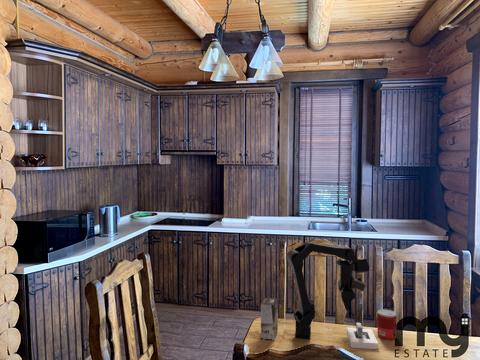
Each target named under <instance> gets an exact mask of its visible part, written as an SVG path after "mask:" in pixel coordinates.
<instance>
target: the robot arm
mask: <svg viewBox="0 0 480 360" xmlns="http://www.w3.org/2000/svg"><path fill="white" fill-rule="evenodd" d="M312 253H319V254H324V255H330V256H335V257H338V258H339V259H337V261H335V264H337V265H338V266H339V279H338V281H337V286H338V290H339V292H340V298H341V300H342V304H343V306H344V308H345V310H346V311H349V310H350V308H351V307H350V306H351V303H352V300H354V299H356V297H357V295H356V291H355V290H354V289H358V290H359V291H361V292H364V290H365V288H366V286H367V285H366V283H365V281H363V280H362V279H363V278H362V277H359V276H358V277H357V278H355V277H354V276H353V275H354V273H355V274H363V273H364V274H366V273H369V271H370V264H369V262H368V258H366V257H361V258H358V257H357V256H356V254H355V250H354V249H352V248H351V247H348V246H346V245H335V246H334V245H333V246H331V245H327V244H321V243H315V242H311V241H306V242H304V243H303V244H301V245H299V246H296V247H295V248H293V249H290V250H289V251H288V252H287V253H286V260H287V261H288V264H289V266H290V268H291V270H292V273H293V276H294V277H293V278H294V282H295V287H296V292H297V298H298V303H297V310H296V311H295V313H294V314H293V318H294V320H295V333H294V337H295V339H301V340H302V339H303V340H304V339H306V340H310V339H311V336H312V334H311V333H312V332H311V331H312V327H311V325H312V322H313V320H314V318H316V314H317V312H316V310H315V303H313V301H312V300H311V299H309V296H308V290H307V286H306V280H305V277H304V276H305V275H304V272H303V271H304V260H306V259H307V258H308V257H309V256H310V254H312Z"/></svg>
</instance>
